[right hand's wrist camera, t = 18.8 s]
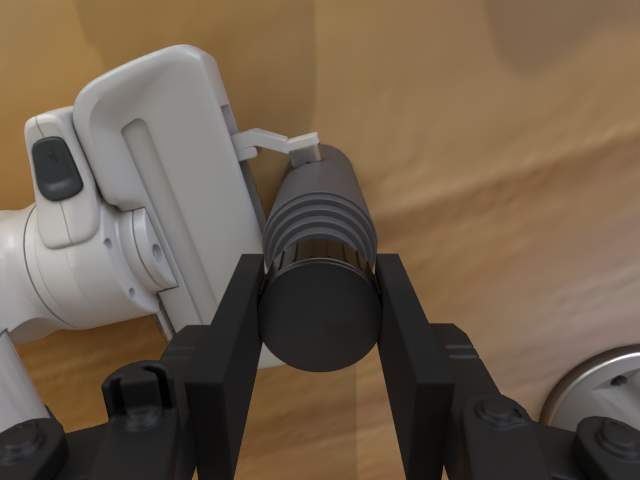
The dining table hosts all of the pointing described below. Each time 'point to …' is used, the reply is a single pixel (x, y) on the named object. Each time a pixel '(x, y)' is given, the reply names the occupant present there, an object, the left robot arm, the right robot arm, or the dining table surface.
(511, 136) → the dining table surface
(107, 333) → the dining table surface
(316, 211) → the bottle
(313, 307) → the cap
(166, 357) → the right robot arm
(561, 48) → the dining table surface
